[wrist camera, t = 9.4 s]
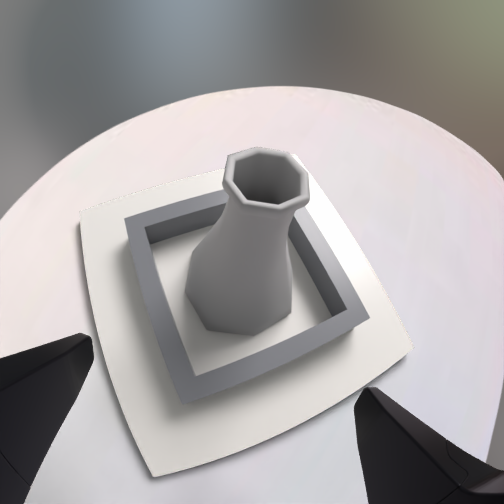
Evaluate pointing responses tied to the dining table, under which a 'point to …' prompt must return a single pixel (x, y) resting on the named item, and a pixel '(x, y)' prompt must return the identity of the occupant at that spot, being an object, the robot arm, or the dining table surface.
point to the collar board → (220, 343)
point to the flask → (249, 245)
